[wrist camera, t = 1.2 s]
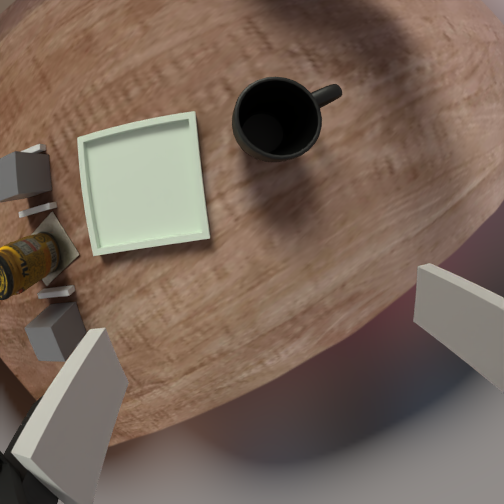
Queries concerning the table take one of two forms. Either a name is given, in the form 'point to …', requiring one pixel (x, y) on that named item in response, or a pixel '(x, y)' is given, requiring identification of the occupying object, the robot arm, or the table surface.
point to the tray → (143, 184)
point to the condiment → (35, 258)
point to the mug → (279, 118)
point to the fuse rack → (55, 315)
